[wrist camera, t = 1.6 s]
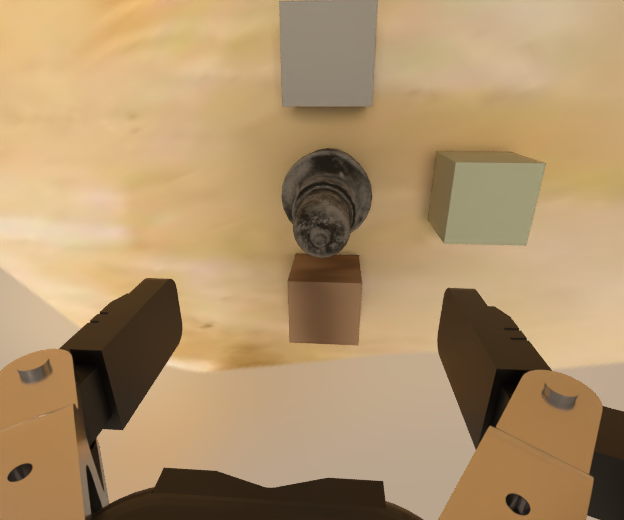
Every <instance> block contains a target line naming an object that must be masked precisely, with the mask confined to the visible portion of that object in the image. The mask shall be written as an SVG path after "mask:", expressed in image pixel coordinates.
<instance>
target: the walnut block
mask: <svg viewBox="0 0 624 520" xmlns="http://www.w3.org/2000/svg"><path fill="white" fill-rule="evenodd" d="M361 290H362V280H361V271H360V261H359V255H333V256H330V257H325V258H320V257H314V256H312V255H309V254H296V255H295V259H294V262H293V265H292V269H291V272H290V275H289V279H288V304H289V338H290V342H292V343H316V344H339V345H358V343H359V325H360V308H361Z"/></svg>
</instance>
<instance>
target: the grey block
mask: <svg viewBox="0 0 624 520" xmlns="http://www.w3.org/2000/svg"><path fill="white" fill-rule="evenodd" d="M377 7H378V0H305V1H279V9H280V41H281V74H282V106H283V107H351V106H372V96H373V78H374V60H375V42H376V25H377Z"/></svg>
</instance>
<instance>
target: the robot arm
mask: <svg viewBox="0 0 624 520" xmlns="http://www.w3.org/2000/svg"><path fill="white" fill-rule="evenodd" d="M181 336H182V320H181V313H180V307H179V301H178V294H177V288H176V284H175V282H174V281H173V280H172V279H156V278H146V279H144V280H143V281H142V282H141V283H140V284H139V285H138V286H137V287H136V288H135V289H133V290H132V291H131V292H130V293H129V294H126V295H124V296H122V297H120V298H118V299H116V300H114V301H112V302H110V303H109V304H108V305H107V306H106V307H105V308H104V309H103V310H102V311H100V314H97V315H96V316H95V317H94V318H93V319H92V320H90V323H87V324H86V325H85V326H84V327H83V328H82V329H80V330H79V331H78V332H77V333H76V334H75V335H74V336H73V337H72V338H70V339H69V340H68V341H67V342H66V343H65V344H64V345H63V346H62V347H60V349H47V350H41V351H37V352H34V353H30V354H28V355H25V356H23V357H20V358H18V359H16V360H15V361H13V362H11V363H10V364H8V365H7V366H6V367H4V368H3V369H2V370H1V371H0V520H423V519H421V518H420V517H418V516H417V515H415V514H413V513H412V512H410V511H408V510H406V509H404V508H402V507H400V506H398V505H395V504H393V503H390V502H387V501H385V494H384V486H383V481H371V480H355V479H338V478H325V479H319V480H313V481H309V482H303V483H297V484H292V485H286V486H281V487H276V488H266V487H262V486H259V485H256V484H253V483H250V482H247V481H244V480H242V479H239V478H236V477H233V476H230V475H227V474H224V473H221V472H218V471H208V470H207V471H206V470H192V469H176V468H164V469H163V471H162V473H161V475H160V477H159V479H158V481H157V483H156V486H155V487H154V488H148V489H145V490H142V491H138V492H135V493H133V494H130V495H128V496H125V497H123V498H120V499H118V500H116V501H114V502H112V503H111V504H109V500H108V494H107V488H106V483H105V476H104V470H103V464H102V458H101V452H100V446H99V443H98V440H97V436H98V434H99V433H100V432H101V431H102V429H113V430H123V429H124V428H125V426H126V424H127V423H128V421H129V420H130V418H131V417H132V415H133V414H134V412H135V410H136V409H137V408H138V406H139V404H140V403H141V401H142V400H143V398H144V397H145V395H146V394H147V392H148V390H149V389H150V387H151V386H152V384H153V383H154V381H155V380H156V378H157V377H158V375H159V374H160V372H161V371H162V369H163V367H164V366H165V364H166V363H167V361H168V360H169V358H170V357H171V355H172V354H173V352H174V351H175V349H176V347H177V346H178V344H179V342H180V339H181ZM437 342H438V352H439V356H440V358H441V361H442V364H443V366H444V369H445V371H446V374H447V377H448V379H449V382H450V384H451V387H452V389H453V392H454V395H455V397H456V400H457V402H458V405H459V407H460V410H461V413H462V415H463V417H464V420H465V423H466V425H467V428H468V431H469V433H470V436H471V438H472V441H473V443H474V446H475V449H476V451H475V453H474V455H473V457H472V458H471V460H470V462H469V464H468V466H467V468H466V469H465V471H464V473H463V475H462V477H461V479H460V481H459V482H458V484H457V486H456V488H455V490H454V491H453V493H452V495H451V497H450V499H449V501H448V502H447V504H446V506H445V508H444V510H443V512H442V514H441V515H440V517H439V519H438V520H586V518H587V515H588V516H591V517H594V518H597V519H600V520H624V412H623V411H619V410H615V409H611V408H607V407H604V406H602V403H601V401H600V399H599V397H598V396H597V395H596V394H595V393H594V392H593V391H592V390H591V389H590V388H589V387H587V386H586V385H585V384H583V383H581V382H580V381H578V380H576V379H574V378H572V377H570V376H567V375H565V374H562V373H559V372H555V371H552V370H551V369H550V367H549V366H548V365H547V364H546V362H545V361H544V360H543V358H542V357H541V356H540V355H539V353H538V352H537V351H536V349H535V348H534V347H533V346H532V344H531V343H530V342H529V341H527V338H526V337H525V335H524V334H523V333H522V332H521V331H519V328H518V326H517V325H516V324H515V323H514V321H513V320H512V319H511V317H510V316H508V315H507V314H505V313H504V312H502V311H501V310H499V309H498V308H496V307H494V306H487V305H486V303H485V302H484V300H483V299H482V297H481V296H480V295H479V293H478V292H477V291H476V290H475V289H461V288H447V289H446V291H445V294H444V298H443V305H442V311H441V317H440V324H439V330H438V339H437Z"/></svg>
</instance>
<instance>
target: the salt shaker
mask: <svg viewBox="0 0 624 520" xmlns="http://www.w3.org/2000/svg"><path fill="white" fill-rule="evenodd" d="M371 201H372V190H371V184H370V181H369V179H368V176H367V174H366V172H365V171H364V170H363V168H362V167H361V166H360V164H359V163H358V162H356V161H355V160H354V159H353V158H352V157H351V156H349V155H348V154H347V153H345V152H342V151H340V150H337V149H328V148H327V149H321V150H317V151H315V152H313V153H310V154H309V155H307V156H304V157H302V158H301V159H300V160H299V161H298V162H296V163H295V164H294V165H293V166H292V168H291V169H290V171H289V172H288V174H287V175H286V178H285V180H284V183H283V186H282V202H283V207H284V210H285V212H286V215H287V217H288V219H289V220H290V221H291V222H292V224H293V232H294V237H295V240H296V242H297V244H298V245H299V246H300V248H301V249H302V250H303V251H305V252H306V253H307V254H309V255H312V256H314V257H320V258H325V257H330V256H333V255H336V254H337V253H338V252H340V251H341V250H342V249H343V248H344V246H345V245H346V244H347V241H348V239H349V236H350V233H351V232H353V231H354V230H355V229H357V228H358V227H359V226H360V225H361V223H362V222H363V221H364V220H365V219H366V216H367V214H368V212H369V210H370V207H371Z"/></svg>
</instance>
